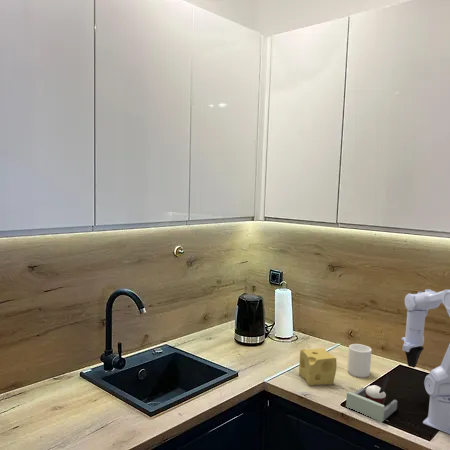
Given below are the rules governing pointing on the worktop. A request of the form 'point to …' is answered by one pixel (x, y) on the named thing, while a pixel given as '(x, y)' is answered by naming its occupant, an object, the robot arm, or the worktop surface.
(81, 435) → the worktop surface
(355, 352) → the cup
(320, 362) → the cheese
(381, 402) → the cocoa
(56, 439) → the worktop surface
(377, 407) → the box
